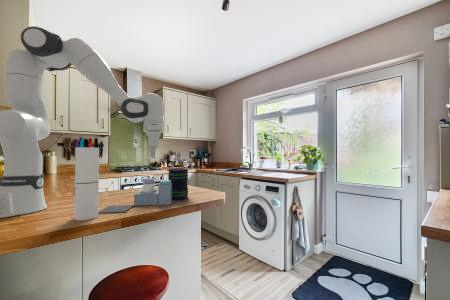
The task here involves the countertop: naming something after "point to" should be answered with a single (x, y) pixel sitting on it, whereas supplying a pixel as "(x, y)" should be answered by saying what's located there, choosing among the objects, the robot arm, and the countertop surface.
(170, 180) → the plunger
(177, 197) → the storage jar
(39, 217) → the countertop surface
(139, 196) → the filter housing
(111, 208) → the rubber mat
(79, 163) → the cylindrical container
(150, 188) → the filter cartridge
